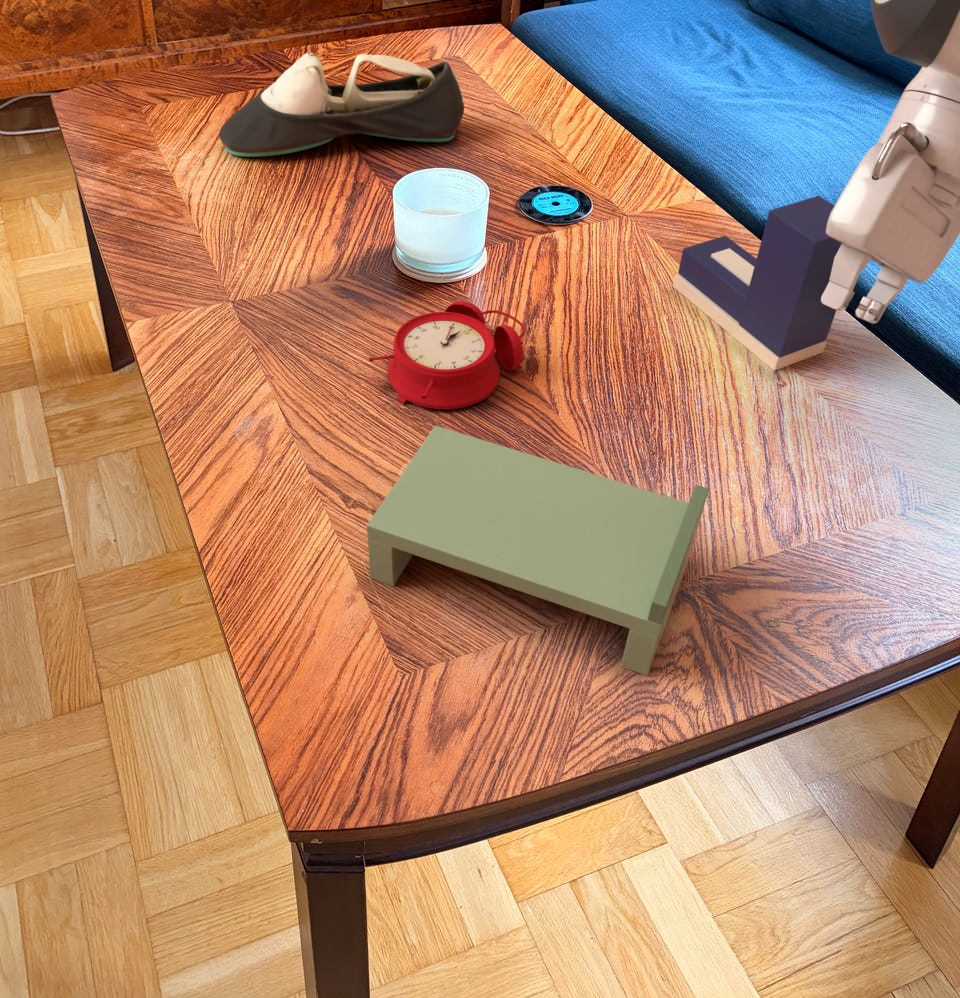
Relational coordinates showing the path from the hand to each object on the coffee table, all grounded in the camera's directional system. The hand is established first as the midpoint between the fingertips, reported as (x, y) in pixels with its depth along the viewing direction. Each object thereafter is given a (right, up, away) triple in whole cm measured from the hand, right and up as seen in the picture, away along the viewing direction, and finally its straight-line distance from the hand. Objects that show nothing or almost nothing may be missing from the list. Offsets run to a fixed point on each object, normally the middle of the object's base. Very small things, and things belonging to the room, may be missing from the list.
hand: (848, 314), depth 83 cm
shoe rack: (-27, -21, -5) cm, 34 cm away
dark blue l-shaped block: (-4, +3, +19) cm, 20 cm away
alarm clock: (-33, -3, +12) cm, 35 cm away
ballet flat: (-48, +30, +43) cm, 71 cm away
